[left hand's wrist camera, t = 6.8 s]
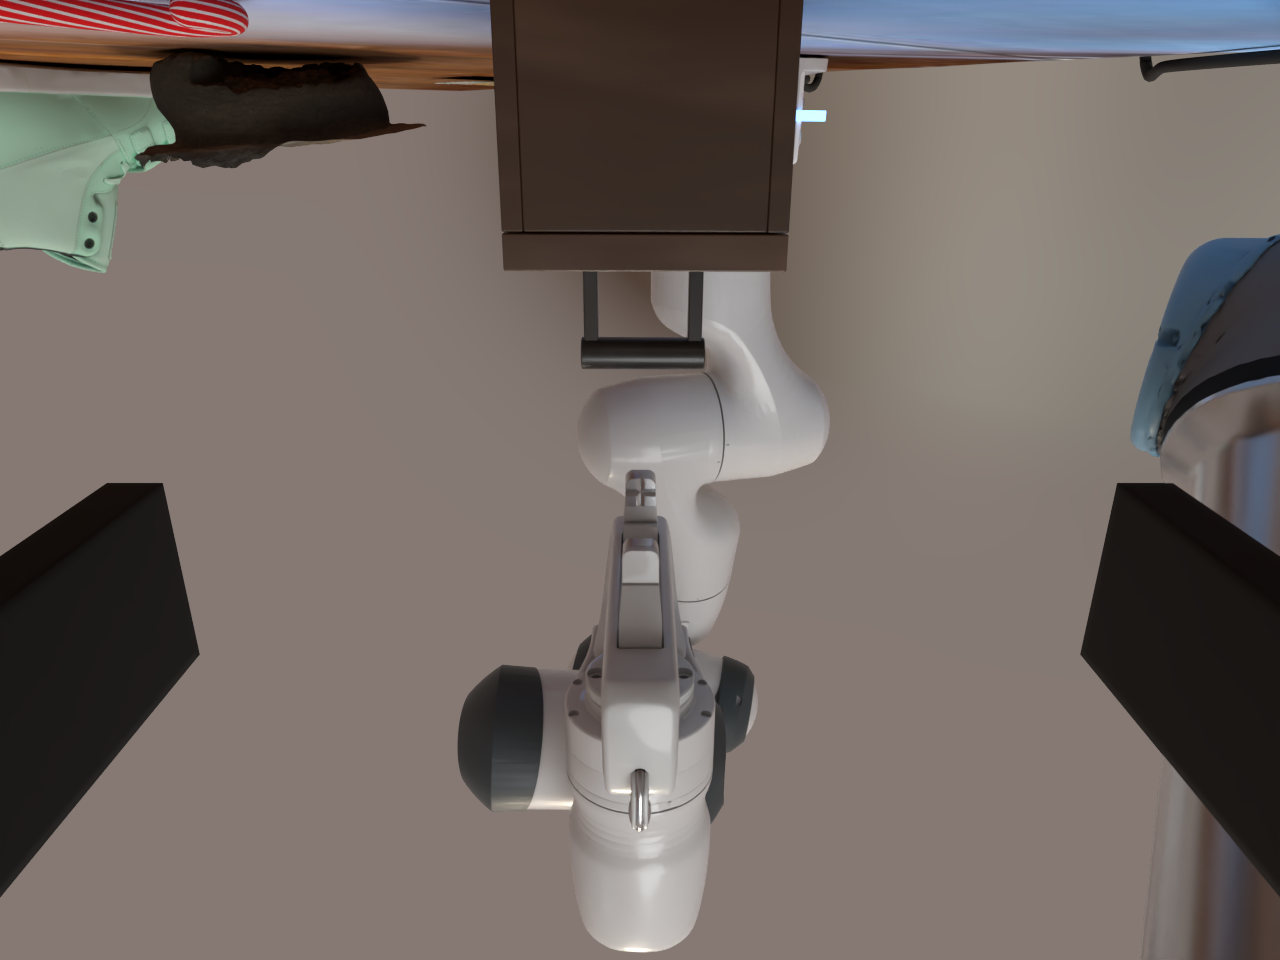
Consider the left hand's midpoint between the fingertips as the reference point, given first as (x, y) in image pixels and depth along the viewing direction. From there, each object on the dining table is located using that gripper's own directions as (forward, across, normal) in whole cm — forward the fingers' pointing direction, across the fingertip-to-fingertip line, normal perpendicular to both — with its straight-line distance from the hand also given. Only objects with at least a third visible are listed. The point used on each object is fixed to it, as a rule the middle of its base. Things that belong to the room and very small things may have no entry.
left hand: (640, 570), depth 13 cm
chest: (+27, 0, -11) cm, 29 cm away
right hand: (+33, 0, +13) cm, 35 cm away
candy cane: (+32, +25, -11) cm, 42 cm away
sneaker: (+93, +57, -11) cm, 109 cm away
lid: (+27, 0, -2) cm, 27 cm away
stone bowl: (+75, +32, -11) cm, 82 cm away
